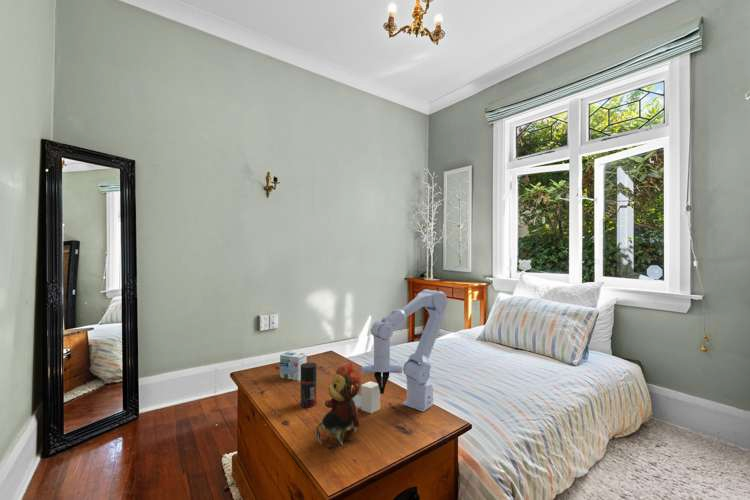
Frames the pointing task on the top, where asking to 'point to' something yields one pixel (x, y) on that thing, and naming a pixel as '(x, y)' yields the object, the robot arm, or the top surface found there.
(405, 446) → the top surface
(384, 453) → the top surface
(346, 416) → the stuffed monkey
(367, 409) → the block
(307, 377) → the deodorant
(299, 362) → the light bulb box
